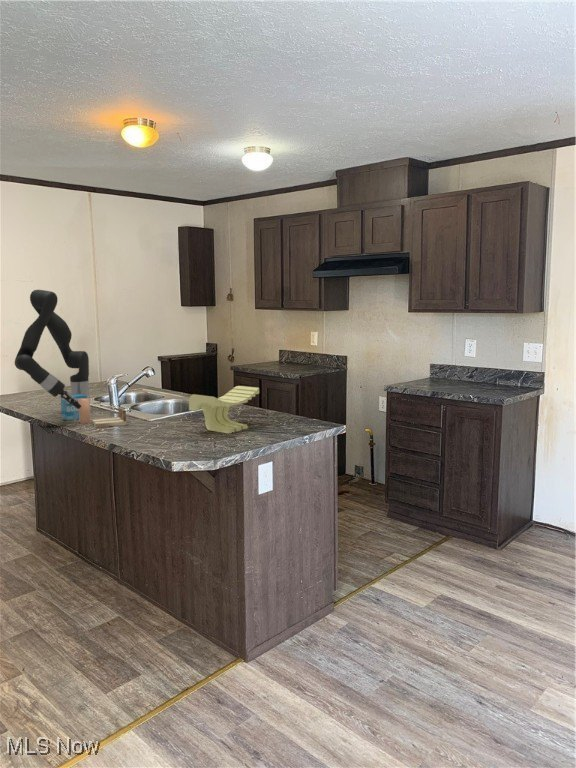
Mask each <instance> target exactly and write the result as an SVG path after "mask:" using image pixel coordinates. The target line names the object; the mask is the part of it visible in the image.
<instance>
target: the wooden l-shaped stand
mask: <svg viewBox="0 0 576 768" xmlns="http://www.w3.org/2000/svg"><path fill="white" fill-rule="evenodd" d="M91 420H92V425H93V424H94V425H93V427H95V429H101V428H100V427H104V428H110V427H109V426H113V427H120V426H121V427H122V426H127V412H126V410H125V409H124V408H123V406H118V416H114V417H105V418H104V417H103V418H96V419H91Z"/></svg>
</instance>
